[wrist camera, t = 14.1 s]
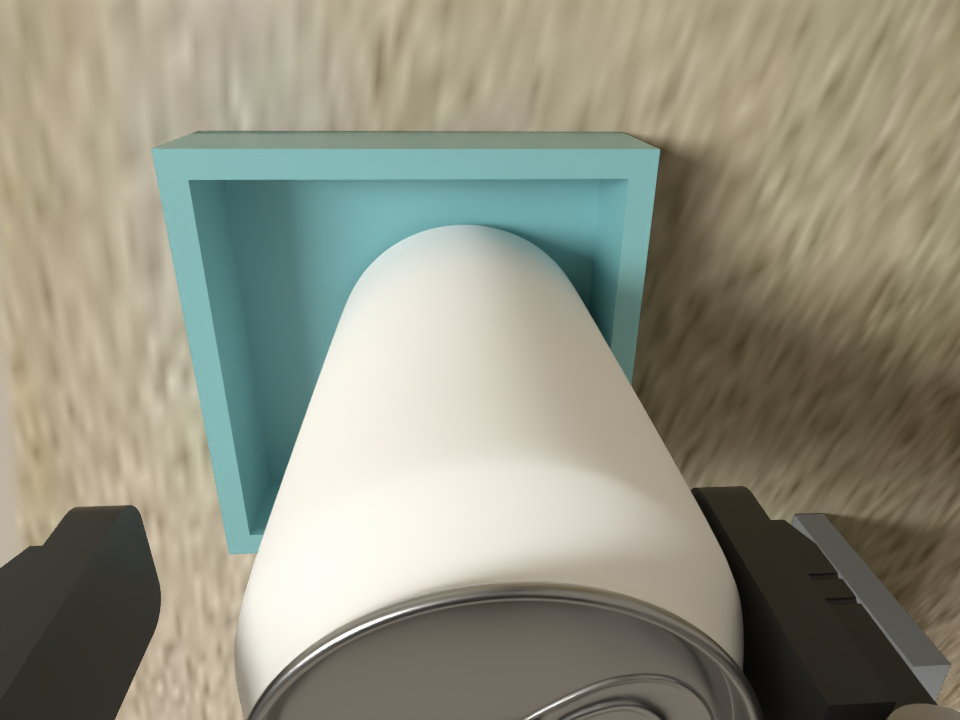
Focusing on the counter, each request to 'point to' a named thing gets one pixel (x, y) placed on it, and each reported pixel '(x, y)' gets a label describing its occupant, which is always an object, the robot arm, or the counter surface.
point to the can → (484, 517)
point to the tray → (367, 257)
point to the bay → (878, 603)
